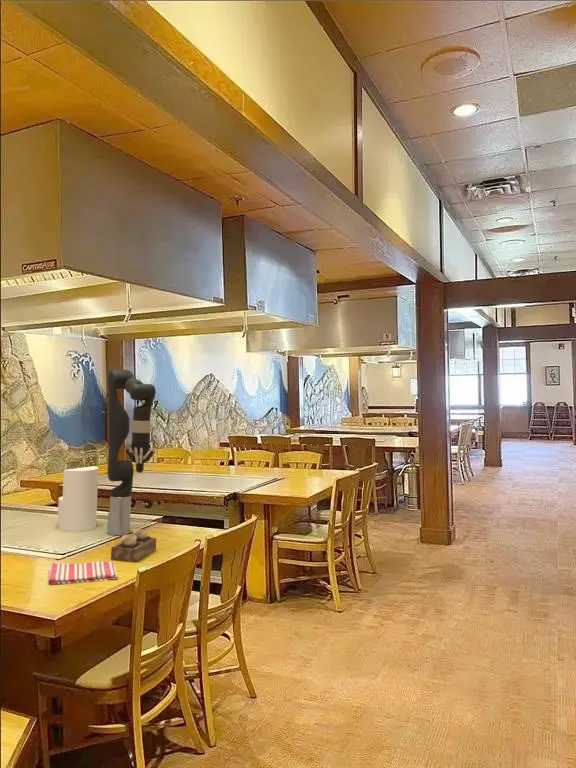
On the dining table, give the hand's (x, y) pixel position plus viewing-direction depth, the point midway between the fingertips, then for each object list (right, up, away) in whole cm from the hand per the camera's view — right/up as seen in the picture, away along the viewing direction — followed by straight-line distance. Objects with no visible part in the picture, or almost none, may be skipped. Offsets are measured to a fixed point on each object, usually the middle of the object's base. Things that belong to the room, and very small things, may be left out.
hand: (139, 472), depth 253 cm
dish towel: (-12, -33, -36) cm, 50 cm away
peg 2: (+1, -32, -4) cm, 32 cm away
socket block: (0, -32, -9) cm, 33 cm away
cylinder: (-37, -31, +31) cm, 57 cm away
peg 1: (-1, -32, -14) cm, 35 cm away
